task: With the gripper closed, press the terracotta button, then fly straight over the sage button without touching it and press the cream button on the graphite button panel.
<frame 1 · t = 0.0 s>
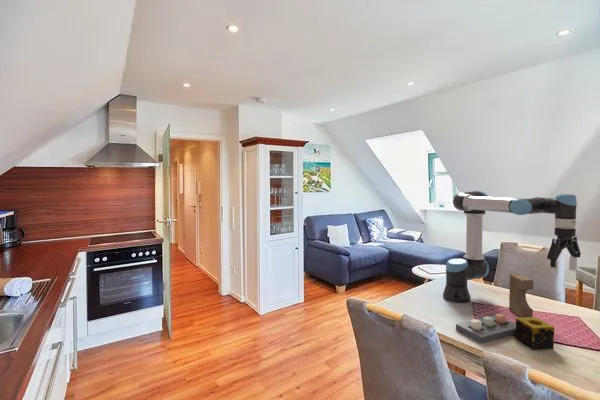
hand: (563, 272, 147), 28 cm above the table, fingers open, 13 cm apart
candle: (533, 344, 138), on the table
panel: (488, 331, 149), on the table
sage button: (488, 322, 149), point 4 cm above the table, slide at 0.0 cm
decorative block: (520, 314, 167), on the table
cream button: (476, 325, 146), point 4 cm above the table, slide at 0.0 cm
terracotta button: (500, 319, 152), point 4 cm above the table, slide at 0.0 cm
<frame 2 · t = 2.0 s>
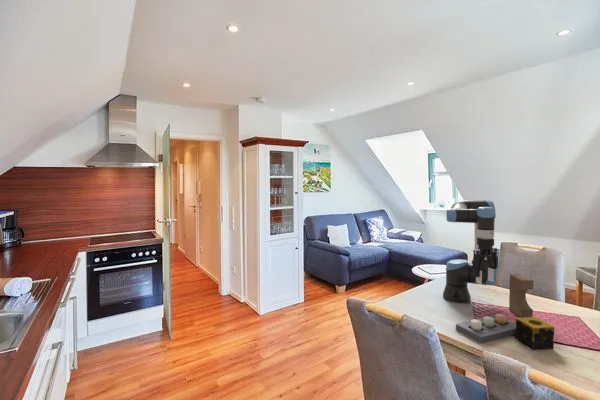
hand: (484, 282, 159), 20 cm above the table, fingers open, 8 cm apart
nothing on the table moved.
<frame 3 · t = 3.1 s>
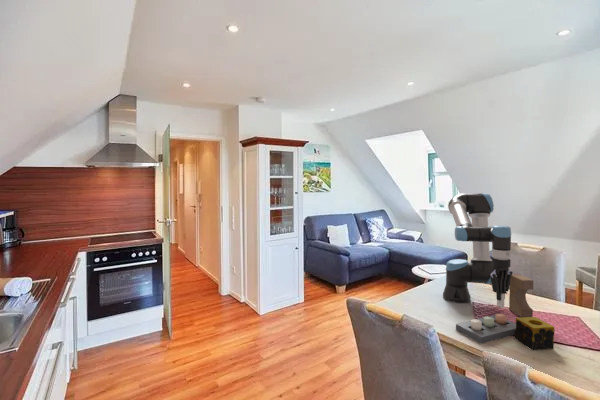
hand: (500, 306, 151), 11 cm above the table, fingers closed
nothing on the table moved.
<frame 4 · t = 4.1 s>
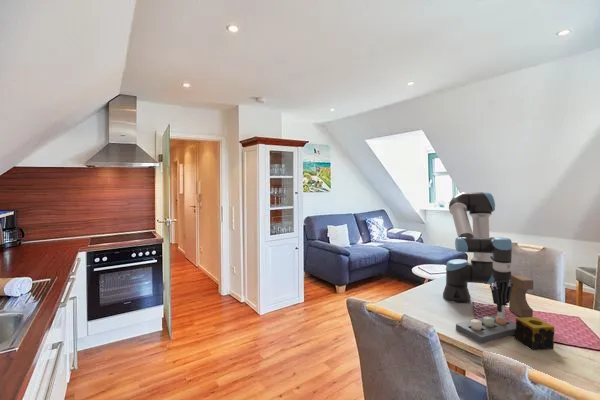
hand: (501, 317, 152), 5 cm above the table, fingers closed
terracotta button: (500, 322, 152), point 3 cm above the table, slide at -1.4 cm, touching gripper
everything else where it was.
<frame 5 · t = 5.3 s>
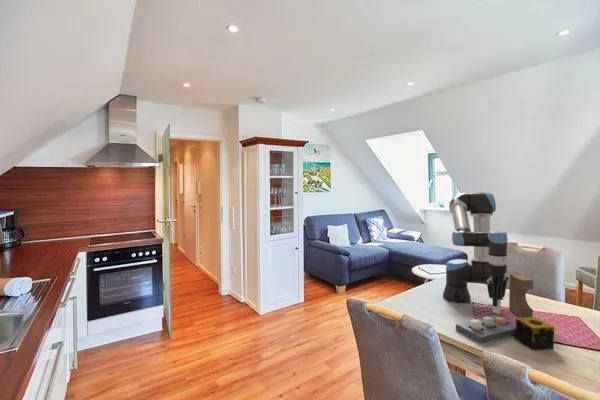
hand: (496, 312, 150), 9 cm above the table, fingers closed
terracotta button: (500, 322, 152), point 3 cm above the table, slide at -1.7 cm
everything else where it was.
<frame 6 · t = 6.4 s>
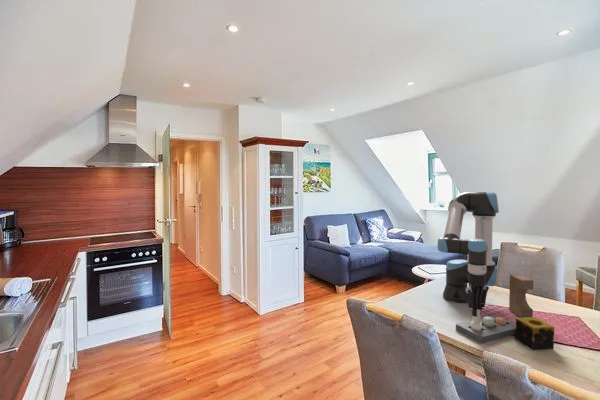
hand: (476, 322, 146), 6 cm above the table, fingers closed
cream button: (476, 326, 146), point 4 cm above the table, slide at -0.7 cm, touching gripper
everything else where it was.
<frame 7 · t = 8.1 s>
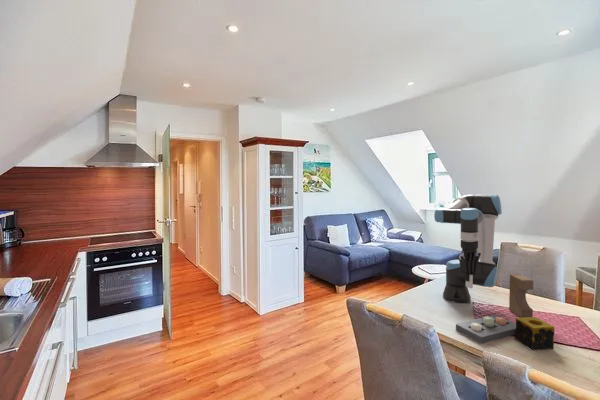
hand: (469, 287, 154), 20 cm above the table, fingers closed
cream button: (476, 329, 147), point 3 cm above the table, slide at -1.7 cm
everything else where it was.
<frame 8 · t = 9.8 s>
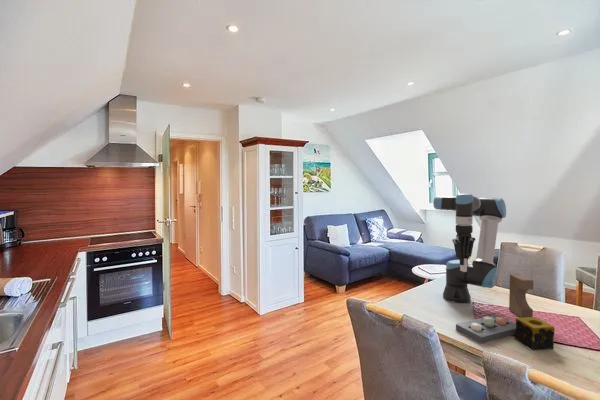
hand: (463, 271, 158), 26 cm above the table, fingers closed
nothing on the table moved.
at the end: terracotta button slide at -1.7 cm; cream button slide at -1.7 cm; sage button slide at 0.0 cm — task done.
